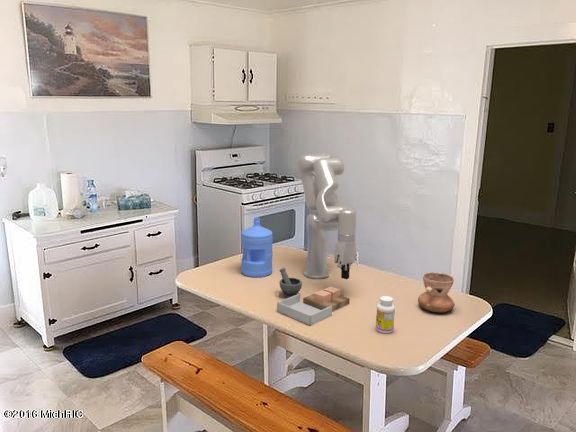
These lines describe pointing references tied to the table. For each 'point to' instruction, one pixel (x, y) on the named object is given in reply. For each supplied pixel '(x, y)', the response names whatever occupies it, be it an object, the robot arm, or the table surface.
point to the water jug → (256, 250)
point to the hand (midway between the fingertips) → (345, 278)
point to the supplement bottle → (385, 315)
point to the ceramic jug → (436, 292)
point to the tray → (302, 310)
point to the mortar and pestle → (289, 284)
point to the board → (335, 302)
